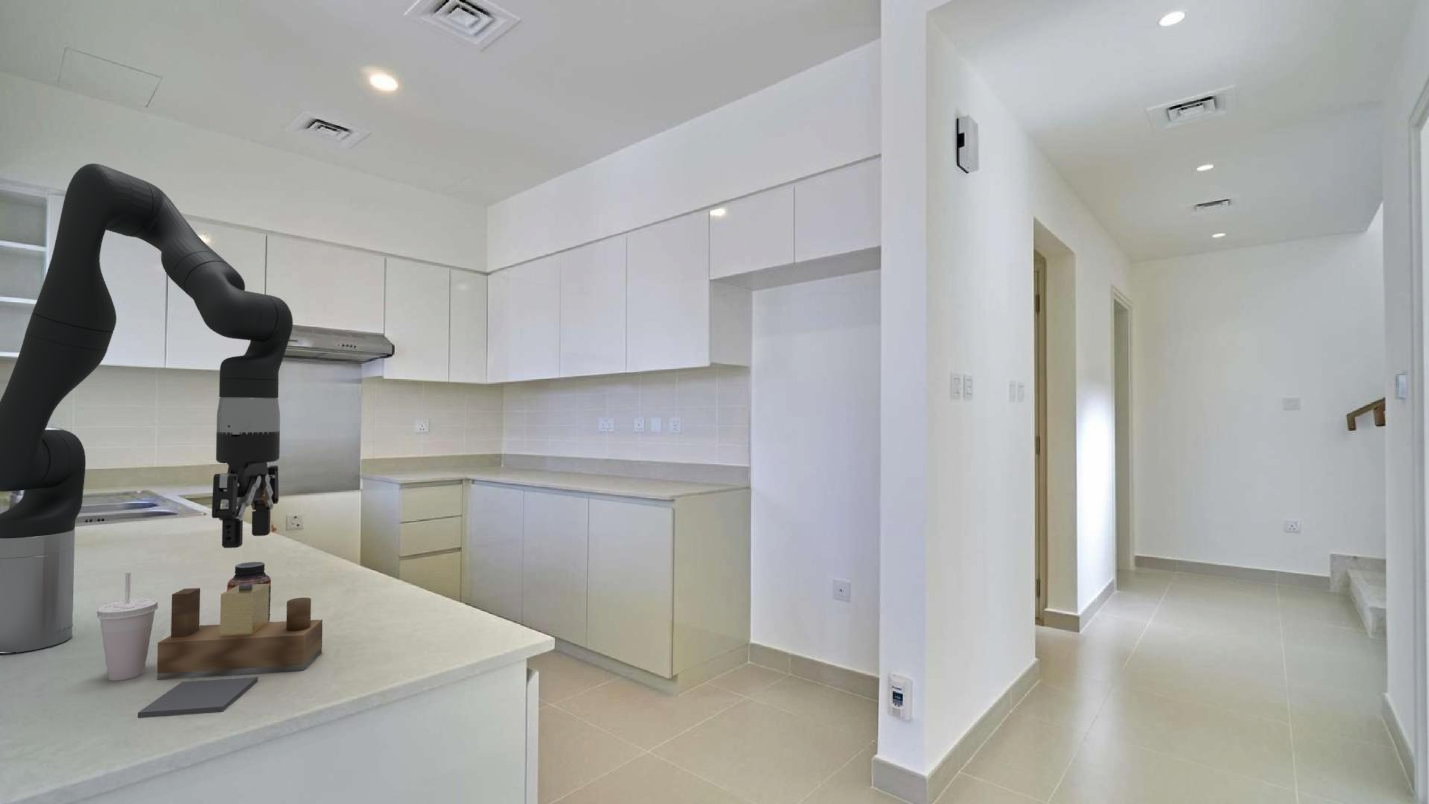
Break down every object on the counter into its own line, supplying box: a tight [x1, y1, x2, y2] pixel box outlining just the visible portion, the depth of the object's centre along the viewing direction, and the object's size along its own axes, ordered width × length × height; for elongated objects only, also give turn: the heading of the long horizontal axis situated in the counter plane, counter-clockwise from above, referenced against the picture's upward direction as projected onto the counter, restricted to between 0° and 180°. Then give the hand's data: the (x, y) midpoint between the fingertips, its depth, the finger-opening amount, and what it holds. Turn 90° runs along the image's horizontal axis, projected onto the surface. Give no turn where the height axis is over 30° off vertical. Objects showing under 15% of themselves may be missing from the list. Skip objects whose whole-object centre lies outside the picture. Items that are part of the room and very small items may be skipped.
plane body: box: [156, 587, 323, 681], centre depth 95 cm, size 18×7×11 cm, turn 102°
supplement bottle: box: [226, 561, 272, 622], centre depth 108 cm, size 6×6×11 cm
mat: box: [137, 676, 259, 718], centre depth 84 cm, size 9×9×1 cm
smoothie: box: [96, 572, 159, 681], centre depth 91 cm, size 6×6×14 cm
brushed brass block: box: [219, 583, 269, 637], centre depth 95 cm, size 4×5×7 cm
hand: (247, 541), depth 95 cm, fingers open, 8 cm apart
